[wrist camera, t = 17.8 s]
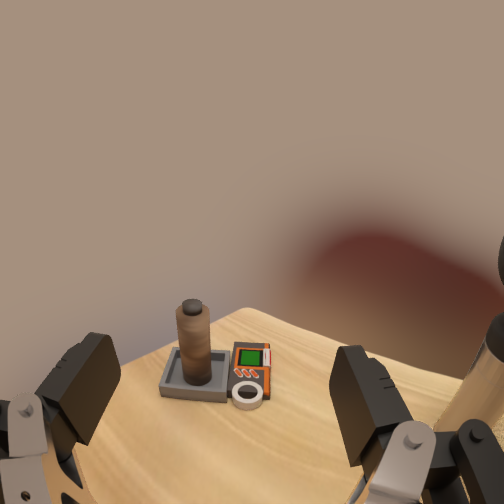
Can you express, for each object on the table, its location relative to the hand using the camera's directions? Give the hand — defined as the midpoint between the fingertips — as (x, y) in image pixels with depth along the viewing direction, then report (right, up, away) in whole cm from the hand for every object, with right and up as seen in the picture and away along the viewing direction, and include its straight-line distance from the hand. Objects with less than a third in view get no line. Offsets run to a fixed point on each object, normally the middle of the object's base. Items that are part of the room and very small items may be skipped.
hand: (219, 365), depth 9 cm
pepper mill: (-8, -17, +33) cm, 38 cm away
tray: (-8, -17, +33) cm, 38 cm away
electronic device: (+1, -18, +34) cm, 39 cm away
